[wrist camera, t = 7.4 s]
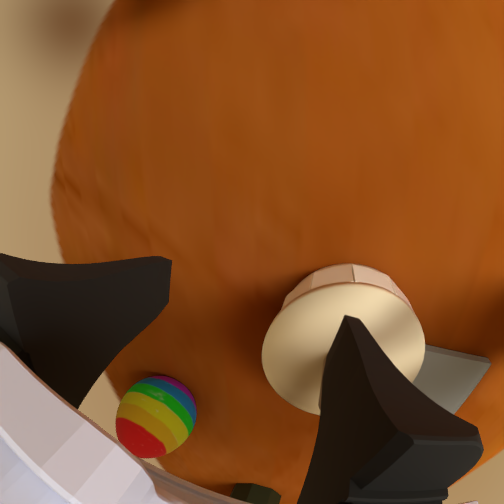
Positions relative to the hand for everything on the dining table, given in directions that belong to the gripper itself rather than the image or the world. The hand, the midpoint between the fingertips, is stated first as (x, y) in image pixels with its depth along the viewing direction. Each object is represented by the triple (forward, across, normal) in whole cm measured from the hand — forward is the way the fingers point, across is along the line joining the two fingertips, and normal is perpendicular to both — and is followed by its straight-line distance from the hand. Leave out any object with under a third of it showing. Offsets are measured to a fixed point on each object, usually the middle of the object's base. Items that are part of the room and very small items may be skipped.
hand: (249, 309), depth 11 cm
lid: (+6, -6, +5) cm, 10 cm away
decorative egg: (+10, +8, +21) cm, 25 cm away
